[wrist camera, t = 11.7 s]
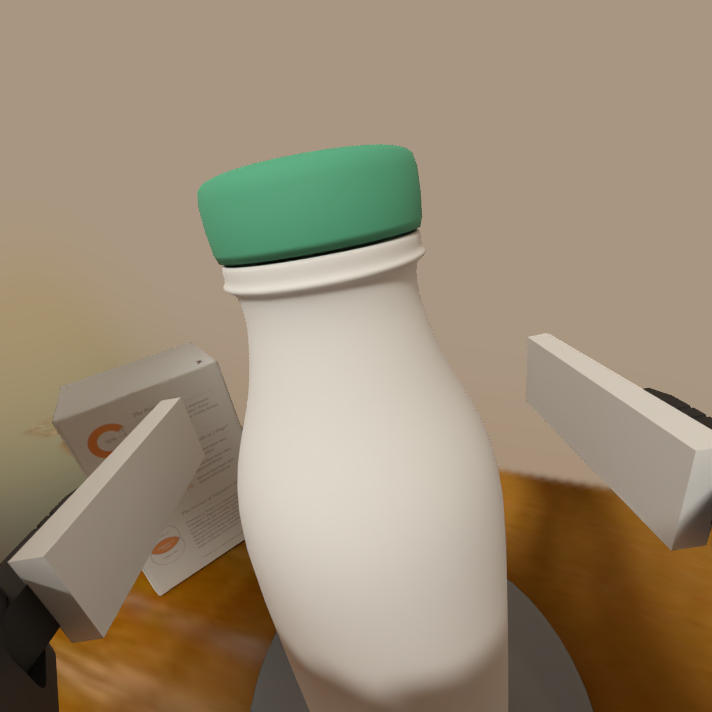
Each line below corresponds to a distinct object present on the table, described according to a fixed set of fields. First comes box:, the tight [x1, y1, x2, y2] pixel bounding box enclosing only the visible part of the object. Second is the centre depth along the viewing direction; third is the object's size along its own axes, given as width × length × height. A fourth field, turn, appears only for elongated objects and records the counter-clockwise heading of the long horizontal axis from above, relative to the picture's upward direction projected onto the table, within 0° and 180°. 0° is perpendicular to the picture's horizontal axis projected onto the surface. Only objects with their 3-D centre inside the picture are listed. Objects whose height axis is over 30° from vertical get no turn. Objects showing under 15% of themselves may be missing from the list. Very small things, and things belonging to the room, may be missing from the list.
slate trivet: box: [250, 579, 593, 712], centre depth 15 cm, size 14×14×1 cm
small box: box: [52, 343, 245, 596], centre depth 23 cm, size 8×6×13 cm
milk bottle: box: [198, 144, 508, 712], centre depth 11 cm, size 8×8×20 cm
